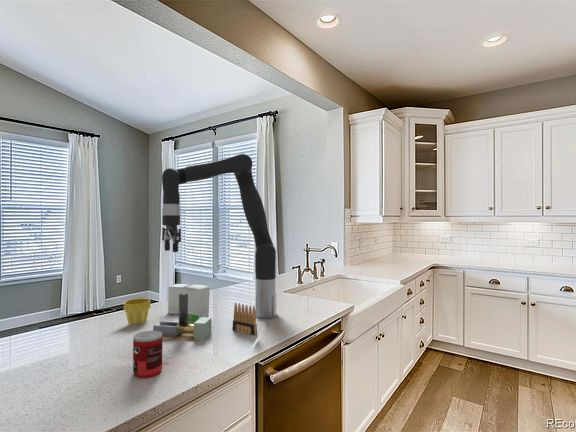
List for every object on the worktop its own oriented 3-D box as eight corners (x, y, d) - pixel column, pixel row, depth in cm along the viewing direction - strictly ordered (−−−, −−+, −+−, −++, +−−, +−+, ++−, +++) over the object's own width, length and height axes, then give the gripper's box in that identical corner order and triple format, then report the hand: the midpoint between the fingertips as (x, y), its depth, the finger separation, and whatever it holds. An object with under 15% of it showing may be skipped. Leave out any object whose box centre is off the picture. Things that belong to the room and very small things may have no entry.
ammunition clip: (257, 337, 128) (257, 305, 128) (254, 338, 126) (254, 306, 126) (235, 331, 133) (235, 301, 133) (232, 333, 132) (232, 302, 132)
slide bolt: (207, 332, 126) (208, 293, 126) (204, 335, 123) (204, 296, 123) (179, 331, 127) (180, 292, 127) (175, 334, 124) (176, 294, 124)
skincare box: (184, 323, 144) (184, 286, 144) (194, 319, 149) (195, 283, 149) (199, 326, 140) (200, 288, 140) (210, 321, 146) (210, 285, 146)
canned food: (138, 366, 102) (138, 330, 102) (165, 366, 103) (165, 330, 103) (128, 379, 94) (128, 339, 94) (158, 378, 95) (158, 339, 95)
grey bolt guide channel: (182, 332, 128) (182, 322, 128) (176, 337, 123) (176, 326, 123) (160, 331, 130) (160, 321, 130) (153, 336, 124) (153, 325, 124)
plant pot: (117, 325, 140) (118, 302, 140) (139, 319, 149) (139, 296, 149) (134, 329, 135) (134, 305, 135) (155, 322, 144) (155, 299, 144)
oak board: (212, 335, 129) (212, 332, 129) (202, 345, 119) (202, 341, 119) (163, 332, 132) (163, 329, 132) (149, 342, 122) (149, 338, 122)
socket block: (211, 333, 128) (211, 317, 128) (204, 340, 121) (204, 323, 121) (201, 332, 128) (201, 317, 128) (193, 339, 121) (193, 323, 121)
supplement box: (182, 314, 156) (182, 287, 156) (167, 313, 158) (167, 286, 158) (189, 310, 163) (189, 284, 163) (175, 309, 165) (176, 283, 165)
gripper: (186, 214, 146) (186, 252, 146) (172, 214, 156) (172, 249, 156) (169, 214, 141) (169, 253, 141) (156, 214, 151) (156, 250, 151)
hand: (171, 251), depth 148 cm, fingers open, 8 cm apart
